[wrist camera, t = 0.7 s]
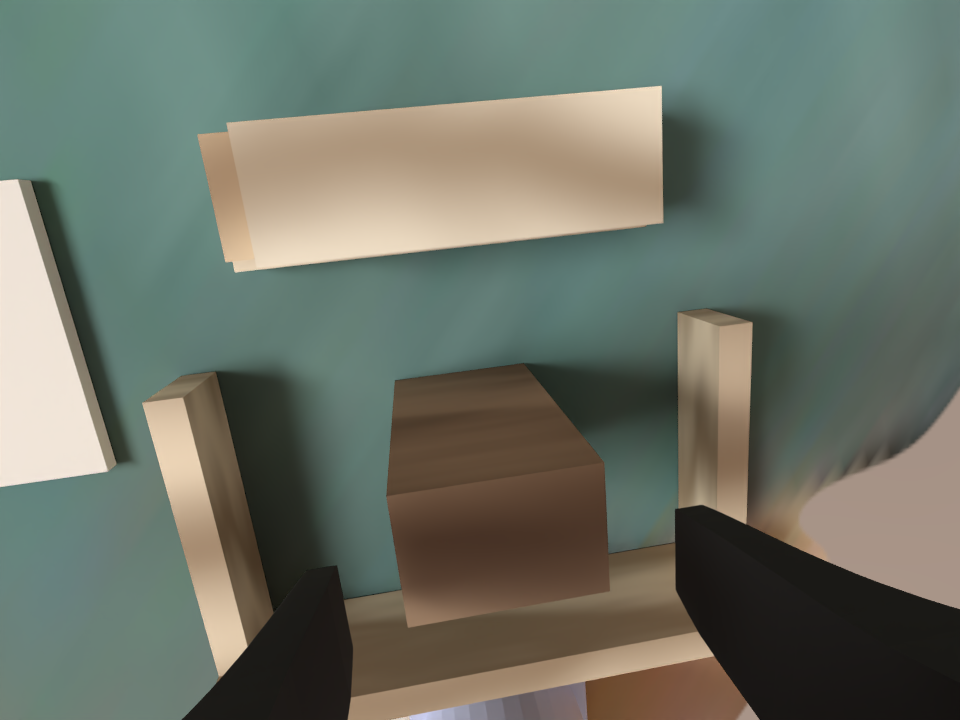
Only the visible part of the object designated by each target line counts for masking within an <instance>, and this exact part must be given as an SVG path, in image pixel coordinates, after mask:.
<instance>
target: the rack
mask: <svg viewBox="0 0 960 720" xmlns="http://www.w3.org/2000/svg"><path fill="white" fill-rule="evenodd" d="M752 325H753V322H750V321H747V320H743V319H740V318H737V317H733V316H730V315H726V314H723V313H720V312H716V311H713V310H710V309H699V310H691V311H683V312H678V475H679V508H685V507H691V506H697V505H704V506H707V507H709V508H712V509H714V510H716V511H719V512H721V513H723V514H725V515H727V516H730V517H732V518H734V519H736V520H738V521H740V522H742V523H744V524H746V518H747V486H748V454H749V421H750V389H751V357H752ZM142 404H143V407H144V411H145V414H146V418H147V422H148V425H149V429H150V432H151V436H152V439H153V443H154V446H155V450H156V454H157V457H158V461H159V464H160V468H161V471H162V475H163V478H164V482H165V486H166V489H167V493H168V496H169V500H170V503H171V507H172V511H173V514H174V518H175V521H176V525H177V528H178V532H179V535H180V539H181V543H182V546H183V550H184V553H185V557H186V560H187V564H188V568H189V571H190V575H191V578H192V582H193V585H194V589H195V592H196V596H197V600H198V603H199V607H200V610H201V614H202V617H203V621H204V625H205V628H206V632H207V635H208V639H209V642H210V646H211V649H212V653H213V657H214V660H215V664H216V667H217V671H218V674H219V678H218V680H217V682H218V681H219V680H220V678H221V677H222V676H223V675H224V674H225V673H226V672H227V670H228V669H229V668H230V667H231V666H232V665H233V663H234V662H235V661H236V660H237V659H238V658H239V656H240V655H241V654H242V653H243V652H244V650H245V649H246V648H247V647H248V645H249V644H250V643H251V642H252V640H253V639H254V638H255V637H256V635H257V634H258V633H259V631H260V630H261V629H262V628H263V626H264V625H265V624H266V623H267V621H268V620H269V619H270V617H271V616H272V615H273V613H274V612H273V608H272V604H271V600H270V596H269V592H268V588H267V583H266V579H265V575H264V571H263V567H262V562H261V558H260V554H259V550H258V546H257V542H256V537H255V533H254V529H253V525H252V521H251V517H250V512H249V508H248V504H247V500H246V496H245V491H244V487H243V483H242V479H241V475H240V471H239V466H238V462H237V458H236V454H235V450H234V445H233V441H232V437H231V433H230V429H229V425H228V420H227V416H226V412H225V408H224V404H223V399H222V395H221V391H220V387H219V383H218V379H217V374H216V372H208V373H200V374H193V375H185V376H181V377H179V378H178V379H176V380H175V381H173V382H172V383H170V384H169V385H167V386H166V387H165V388H163V389H162V390H160V391H159V392H157V393H156V394H154V395H153V396H152V397H150V398H149V399H147V400H146V401H144V402H143V403H142ZM608 557H609V579H610V591H609V592H604V593H598V594H593V595H587V596H582V597H576V598H571V599H565V600H559V601H554V602H548V603H543V604H537V605H532V606H526V607H520V608H515V609H509V610H504V611H498V612H493V613H487V614H482V615H476V616H470V617H465V618H459V619H454V620H448V621H443V622H437V623H431V624H426V625H420V626H415V627H409V628H408V625H407V619H406V613H405V607H404V601H403V595H402V590H399V591H393V592H388V593H382V594H376V595H370V596H364V597H359V598H353V599H347V600H344V604H345V609H346V614H347V619H348V624H349V629H350V634H351V639H352V644H353V668H352V687H351V702H350V708H349V715H348V720H391V719H396V718H401V717H406V716H411V715H416V714H421V713H426V712H431V711H437V710H442V709H447V708H452V707H457V706H462V705H467V704H472V703H477V702H482V701H488V700H493V699H498V698H503V697H508V696H513V695H518V694H523V693H528V692H534V691H539V690H544V689H549V688H554V687H559V686H564V685H569V684H574V683H580V682H585V681H590V680H595V679H600V678H605V677H610V676H615V675H620V674H625V673H631V672H636V671H641V670H646V669H651V668H656V667H661V666H666V665H671V664H677V663H682V662H687V661H692V660H697V659H702V658H707V657H712V656H714V655H713V653H712V652H711V650H710V649H709V648H708V646H707V645H706V643H705V642H704V640H703V639H702V637H701V636H700V634H699V633H698V631H697V629H696V627H695V626H694V624H693V622H692V620H691V618H690V617H689V615H688V613H687V611H686V609H685V607H684V605H683V603H682V601H681V599H680V598H679V596H678V594H677V592H676V590H675V543H671V544H666V545H660V546H654V547H648V548H642V549H637V550H631V551H625V552H619V553H614V554H608Z"/></svg>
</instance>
